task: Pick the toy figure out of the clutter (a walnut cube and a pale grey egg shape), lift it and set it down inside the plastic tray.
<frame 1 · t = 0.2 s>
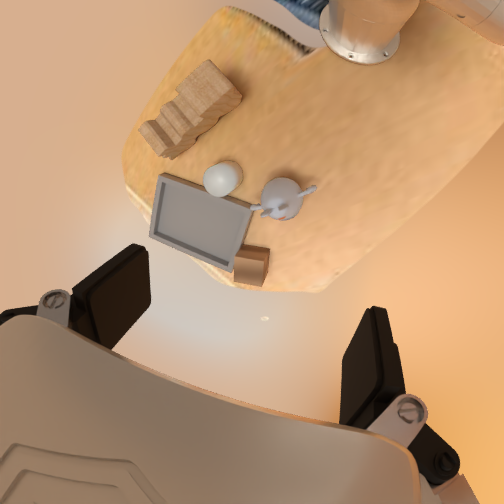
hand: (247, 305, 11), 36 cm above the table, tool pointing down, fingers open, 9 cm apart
walnut cube: (255, 258, 52), on the table
tray: (199, 220, 51), on the table
stepped wooden block: (204, 114, 42), on the table
pale grey egg shape: (228, 175, 46), on the table
toy figure: (286, 190, 45), on the table
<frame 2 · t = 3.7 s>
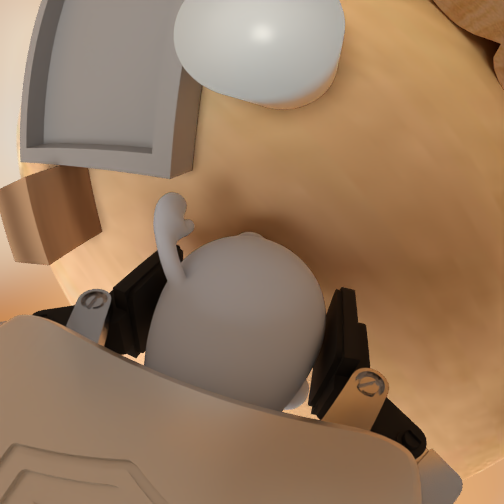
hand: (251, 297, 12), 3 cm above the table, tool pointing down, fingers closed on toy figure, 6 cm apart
walnut cube: (72, 199, 16), on the table
tray: (115, 19, 10), on the table
pale grey egg shape: (281, 58, 10), on the table
toy figure: (268, 260, 15), on the table, touching gripper
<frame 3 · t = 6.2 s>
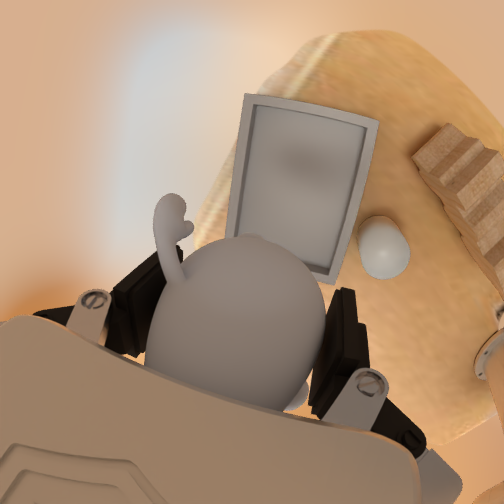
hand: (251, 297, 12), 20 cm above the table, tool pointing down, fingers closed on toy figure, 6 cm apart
tray: (297, 188, 29), on the table
stepped wooden block: (461, 198, 24), on the table
pale grey egg shape: (378, 236, 29), on the table
toy figure: (267, 261, 15), point 16 cm above the table, touching gripper
when the fingers open (5 cm above the table, at t = 8.8 s): toy figure drops 1 cm, resting on tray.
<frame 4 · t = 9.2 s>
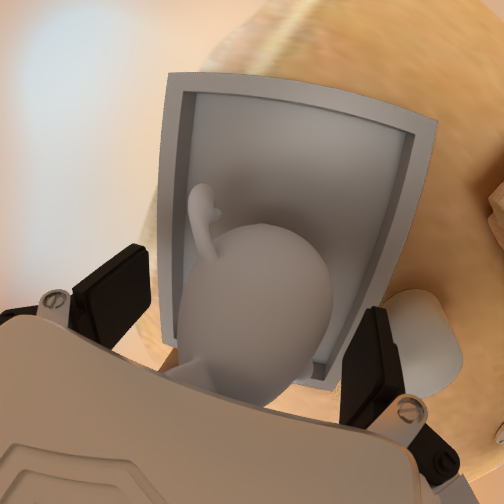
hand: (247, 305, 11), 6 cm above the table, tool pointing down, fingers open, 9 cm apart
tray: (274, 244, 16), on the table
pale grey egg shape: (408, 320, 16), on the table
toy figure: (277, 250, 16), resting on tray
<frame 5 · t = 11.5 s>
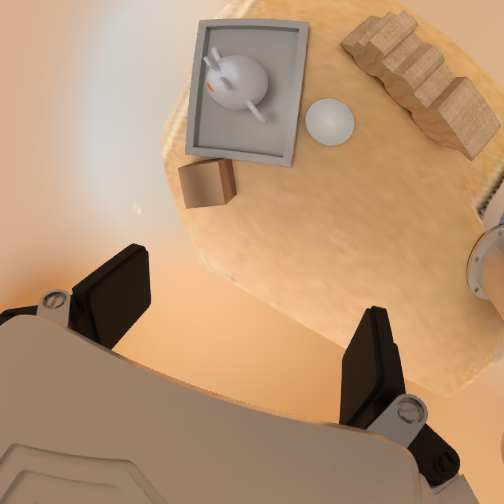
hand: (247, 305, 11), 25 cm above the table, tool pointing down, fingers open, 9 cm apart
walnut cube: (215, 177, 36), on the table
tray: (247, 87, 30), on the table
stepped wooden block: (405, 85, 25), on the table
pale grey egg shape: (328, 122, 29), on the table
toy figure: (248, 88, 29), resting on tray
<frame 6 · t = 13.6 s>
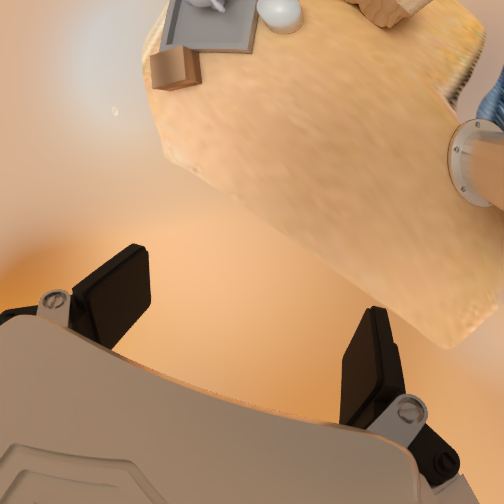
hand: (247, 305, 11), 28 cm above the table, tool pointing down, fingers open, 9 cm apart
walnut cube: (184, 71, 33), on the table
tray: (216, 1, 27), on the table
pale grey egg shape: (284, 19, 27), on the table
toy figure: (217, 0, 27), resting on tray
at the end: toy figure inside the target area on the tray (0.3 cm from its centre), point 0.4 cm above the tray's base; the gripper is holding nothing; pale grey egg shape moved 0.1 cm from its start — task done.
